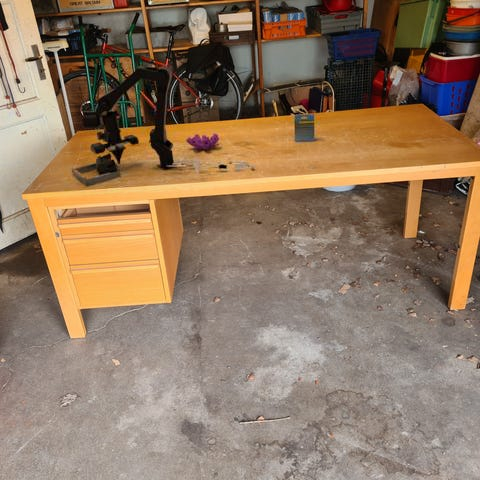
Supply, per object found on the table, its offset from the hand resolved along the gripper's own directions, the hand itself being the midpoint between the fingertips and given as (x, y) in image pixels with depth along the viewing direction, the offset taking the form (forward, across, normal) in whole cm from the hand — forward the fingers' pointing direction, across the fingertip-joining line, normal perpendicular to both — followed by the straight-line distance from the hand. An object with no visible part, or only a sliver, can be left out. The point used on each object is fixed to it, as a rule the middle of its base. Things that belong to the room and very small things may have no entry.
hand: (118, 163), depth 193 cm
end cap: (+2, +5, +2) cm, 6 cm away
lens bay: (+2, +10, 0) cm, 10 cm away
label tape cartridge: (+2, -78, +28) cm, 83 cm away
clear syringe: (+2, -29, +27) cm, 40 cm away
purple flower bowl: (+2, -39, +4) cm, 39 cm away
